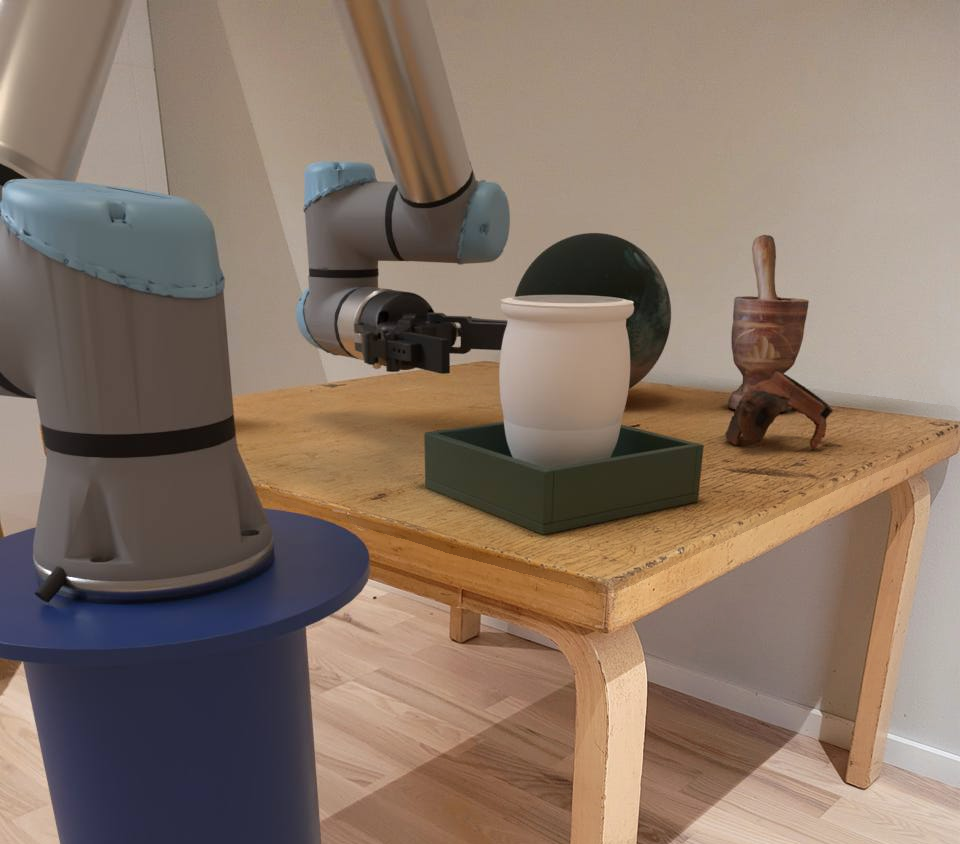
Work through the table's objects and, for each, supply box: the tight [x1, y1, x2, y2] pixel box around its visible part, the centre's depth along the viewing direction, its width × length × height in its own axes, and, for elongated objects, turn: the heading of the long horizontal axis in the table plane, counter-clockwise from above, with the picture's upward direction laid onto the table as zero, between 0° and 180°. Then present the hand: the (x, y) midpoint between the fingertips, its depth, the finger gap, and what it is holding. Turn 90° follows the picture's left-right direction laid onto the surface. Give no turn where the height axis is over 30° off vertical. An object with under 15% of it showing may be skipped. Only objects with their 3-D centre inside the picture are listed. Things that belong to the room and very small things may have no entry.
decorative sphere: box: [514, 232, 672, 390], centre depth 121 cm, size 20×20×20 cm
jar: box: [498, 295, 634, 469], centre depth 79 cm, size 11×10×15 cm
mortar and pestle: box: [727, 234, 810, 413], centre depth 117 cm, size 12×9×20 cm
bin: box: [423, 421, 705, 536], centre depth 81 cm, size 17×17×5 cm
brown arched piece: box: [724, 371, 834, 450], centre depth 99 cm, size 12×10×8 cm
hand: (512, 351), depth 82 cm, fingers open, 13 cm apart
